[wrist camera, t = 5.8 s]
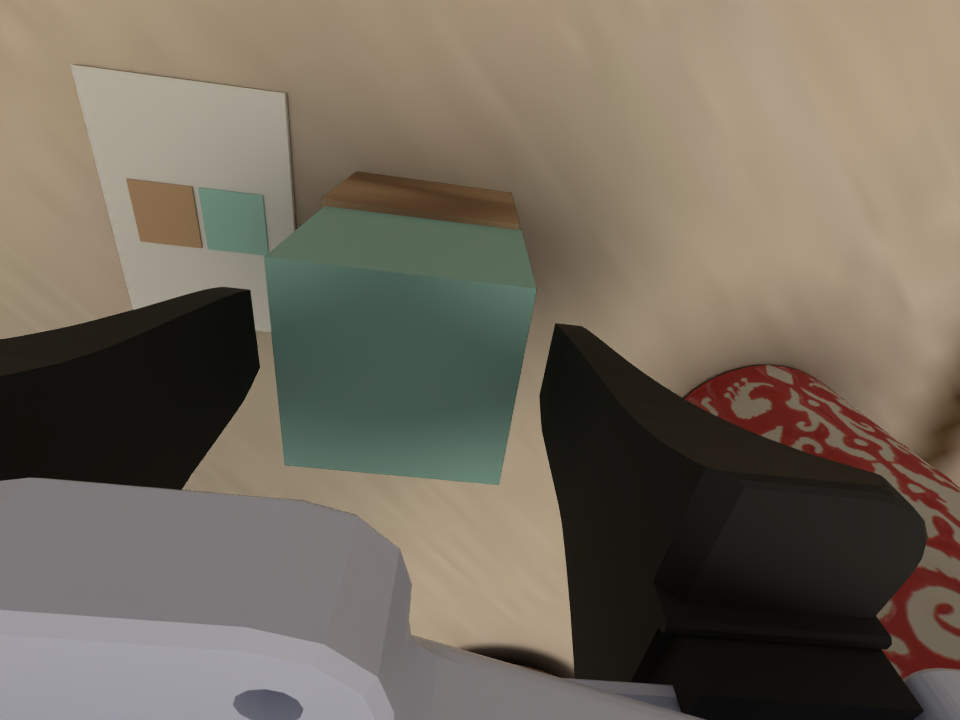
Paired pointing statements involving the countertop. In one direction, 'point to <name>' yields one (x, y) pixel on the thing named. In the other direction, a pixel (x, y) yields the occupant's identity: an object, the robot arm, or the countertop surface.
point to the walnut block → (424, 200)
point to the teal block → (398, 343)
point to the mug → (862, 444)
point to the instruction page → (190, 181)
